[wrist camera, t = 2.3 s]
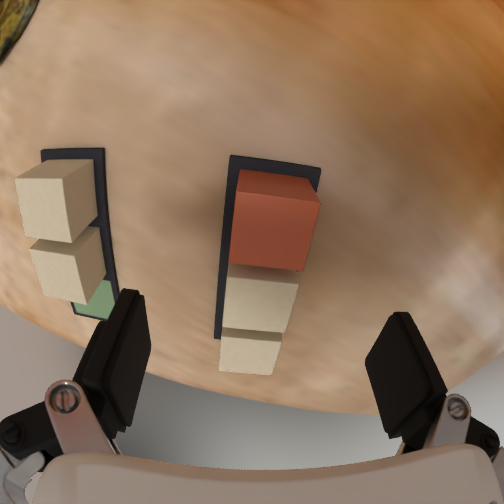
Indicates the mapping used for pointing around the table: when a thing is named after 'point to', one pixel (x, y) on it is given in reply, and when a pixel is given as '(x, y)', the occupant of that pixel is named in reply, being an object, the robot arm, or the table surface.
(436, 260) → the table surface
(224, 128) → the table surface
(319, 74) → the table surface
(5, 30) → the seal
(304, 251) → the rust orange cube
